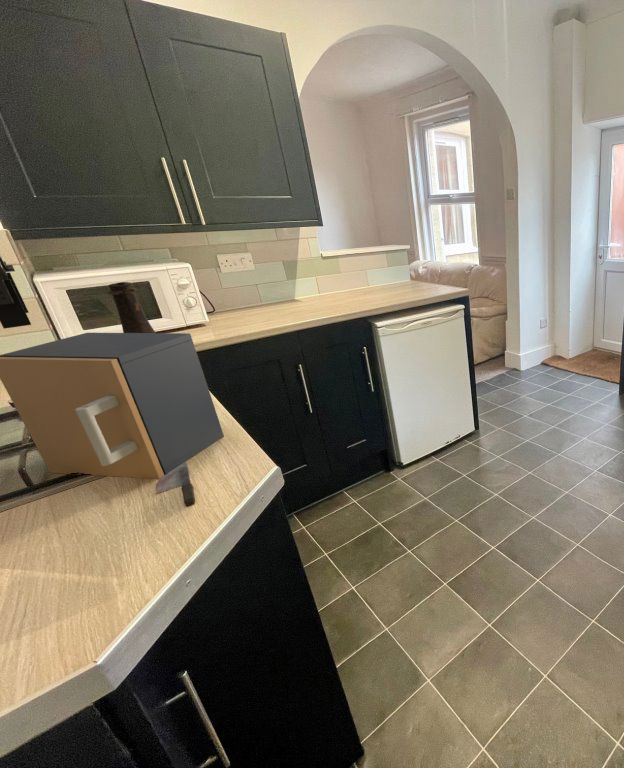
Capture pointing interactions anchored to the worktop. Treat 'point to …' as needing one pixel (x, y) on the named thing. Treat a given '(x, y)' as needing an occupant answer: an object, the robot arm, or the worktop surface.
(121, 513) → the worktop surface
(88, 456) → the cupboard door
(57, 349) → the cupboard
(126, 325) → the dark brown vase
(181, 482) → the cleaver
